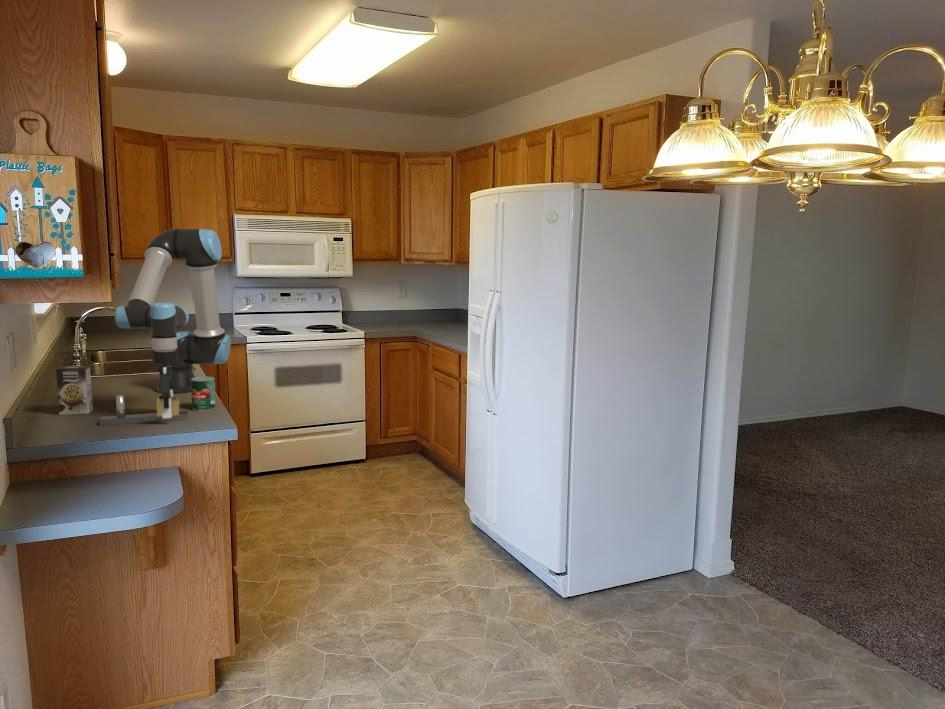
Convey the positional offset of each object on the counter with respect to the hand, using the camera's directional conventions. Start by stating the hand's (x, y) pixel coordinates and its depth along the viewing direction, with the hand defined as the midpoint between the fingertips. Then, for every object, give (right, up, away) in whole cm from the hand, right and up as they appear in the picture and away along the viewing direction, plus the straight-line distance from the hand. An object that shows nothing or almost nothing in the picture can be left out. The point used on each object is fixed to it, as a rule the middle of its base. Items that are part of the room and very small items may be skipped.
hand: (168, 413), depth 225 cm
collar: (0, 0, 0) cm, 0 cm away
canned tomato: (+5, 0, +16) cm, 17 cm away
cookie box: (-35, -1, +8) cm, 36 cm away
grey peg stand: (-7, -2, -2) cm, 7 cm away
